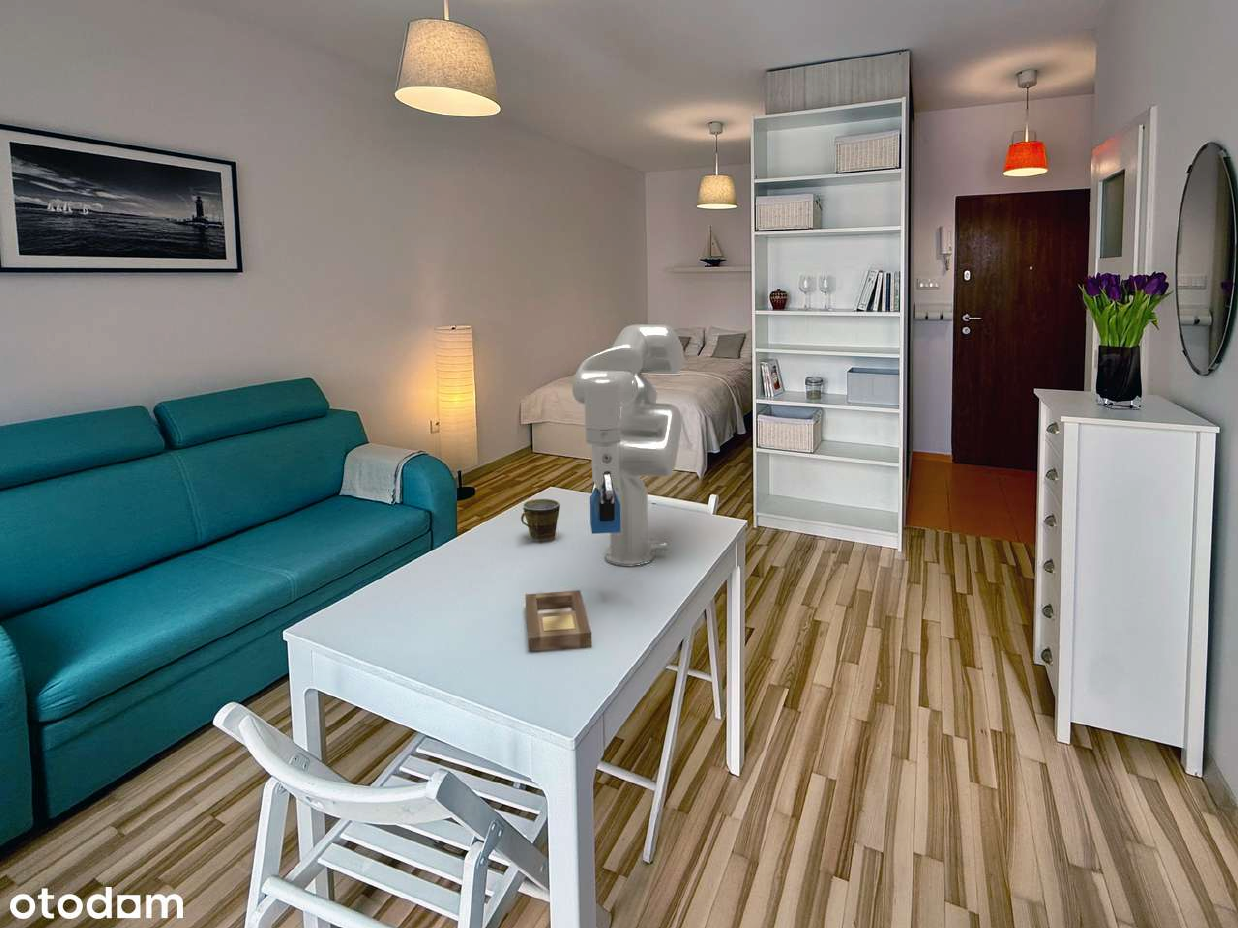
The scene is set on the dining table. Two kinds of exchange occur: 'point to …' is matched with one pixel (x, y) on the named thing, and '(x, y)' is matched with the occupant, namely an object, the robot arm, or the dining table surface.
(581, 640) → the frame
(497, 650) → the dining table surface
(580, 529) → the dining table surface
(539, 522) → the ceramic cup
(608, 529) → the perfume bottle
